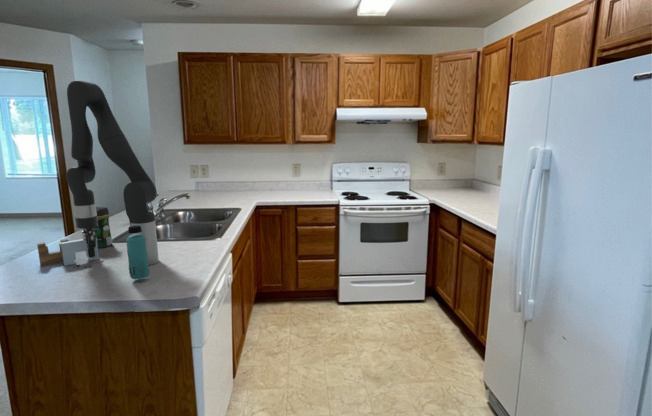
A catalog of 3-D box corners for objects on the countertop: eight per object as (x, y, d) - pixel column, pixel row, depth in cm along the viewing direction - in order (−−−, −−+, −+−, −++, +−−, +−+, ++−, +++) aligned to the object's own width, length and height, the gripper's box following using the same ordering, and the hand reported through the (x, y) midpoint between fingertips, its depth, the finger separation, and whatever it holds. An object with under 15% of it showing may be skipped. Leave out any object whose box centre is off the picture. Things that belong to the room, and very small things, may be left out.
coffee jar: (84, 247, 171) (79, 208, 167) (98, 242, 179) (93, 204, 175) (103, 249, 169) (98, 209, 166) (115, 244, 177) (111, 205, 173)
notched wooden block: (71, 260, 154) (68, 239, 152) (41, 266, 147) (37, 244, 145) (70, 259, 155) (67, 238, 154) (40, 265, 149) (36, 243, 147)
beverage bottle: (153, 276, 137) (148, 223, 133) (145, 283, 131) (139, 228, 127) (135, 276, 137) (129, 223, 133) (126, 283, 131) (120, 228, 127)
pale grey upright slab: (99, 258, 156) (96, 238, 154) (64, 265, 148) (61, 243, 146) (97, 257, 158) (95, 236, 156) (63, 264, 150) (60, 242, 148)
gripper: (100, 216, 149) (105, 258, 153) (92, 211, 159) (97, 250, 163) (78, 219, 144) (84, 262, 148) (71, 214, 154) (77, 254, 158)
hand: (91, 255), depth 155 cm, fingers closed on pale grey upright slab, 2 cm apart
